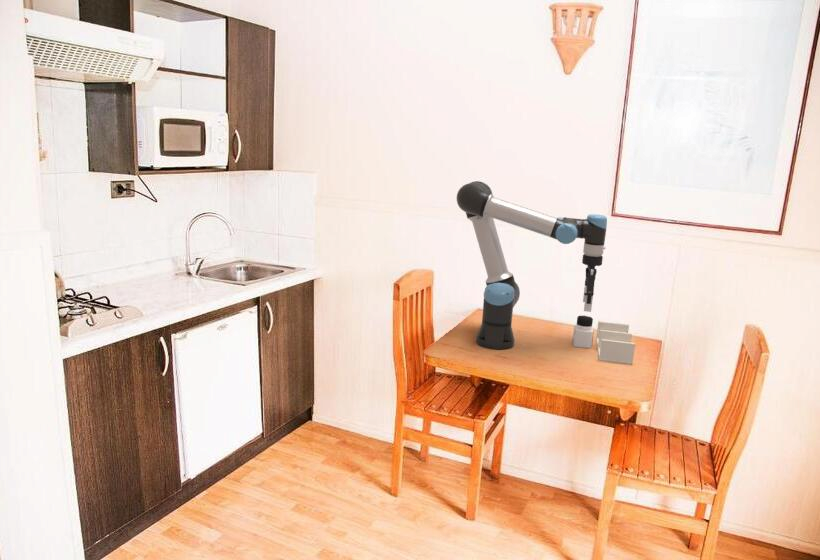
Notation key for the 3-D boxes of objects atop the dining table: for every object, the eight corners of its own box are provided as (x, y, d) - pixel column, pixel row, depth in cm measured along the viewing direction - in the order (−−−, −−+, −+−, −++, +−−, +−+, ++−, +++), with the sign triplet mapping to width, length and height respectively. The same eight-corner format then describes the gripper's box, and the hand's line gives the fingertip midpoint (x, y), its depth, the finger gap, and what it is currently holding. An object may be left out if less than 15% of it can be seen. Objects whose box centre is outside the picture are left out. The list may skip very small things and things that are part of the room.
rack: (599, 360, 236) (601, 340, 234) (596, 339, 259) (598, 321, 257) (632, 364, 233) (635, 344, 231) (626, 342, 257) (628, 324, 255)
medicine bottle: (591, 348, 248) (595, 320, 245) (573, 346, 249) (576, 318, 246) (590, 343, 255) (593, 315, 252) (572, 341, 256) (575, 313, 253)
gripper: (604, 261, 230) (598, 316, 235) (601, 249, 254) (595, 299, 259) (583, 259, 232) (577, 314, 237) (582, 248, 255) (576, 297, 260)
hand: (586, 306), depth 248 cm, fingers open, 13 cm apart
